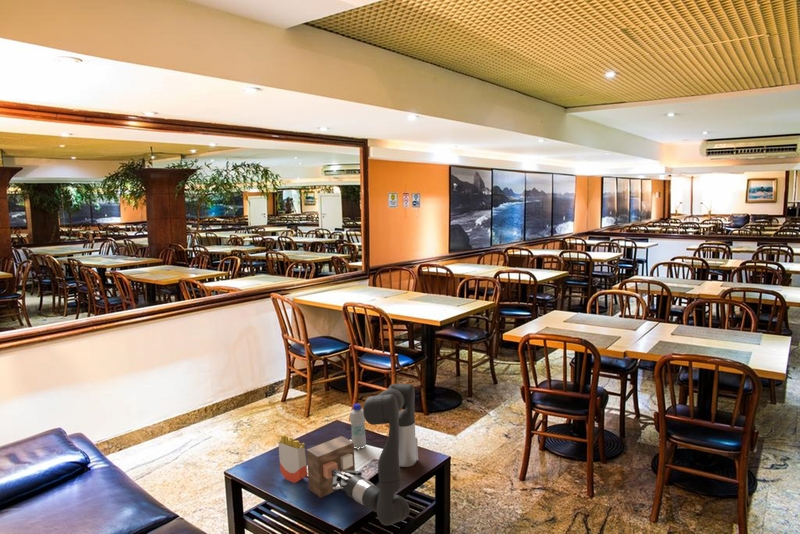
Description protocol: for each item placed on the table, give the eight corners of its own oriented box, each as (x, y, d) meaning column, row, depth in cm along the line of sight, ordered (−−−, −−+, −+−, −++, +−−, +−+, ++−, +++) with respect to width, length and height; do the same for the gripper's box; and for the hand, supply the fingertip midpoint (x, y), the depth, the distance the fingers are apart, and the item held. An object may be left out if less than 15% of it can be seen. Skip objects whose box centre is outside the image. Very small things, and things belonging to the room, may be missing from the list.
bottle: (369, 447, 233) (367, 403, 230) (357, 452, 228) (355, 408, 226) (360, 442, 238) (358, 399, 235) (348, 447, 233) (346, 404, 231)
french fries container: (289, 472, 214) (286, 430, 211) (308, 479, 207) (305, 436, 205) (280, 477, 210) (277, 434, 208) (299, 485, 204) (296, 441, 201)
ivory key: (346, 462, 205) (346, 451, 204) (353, 465, 202) (352, 454, 201) (337, 466, 202) (336, 455, 201) (343, 469, 199) (342, 458, 198)
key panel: (343, 474, 211) (341, 436, 209) (355, 481, 205) (353, 442, 203) (309, 489, 200) (306, 449, 198) (320, 497, 194) (317, 456, 192)
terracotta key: (331, 470, 198) (331, 459, 198) (337, 474, 195) (337, 463, 195) (321, 475, 195) (321, 464, 195) (327, 479, 192) (327, 467, 192)
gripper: (376, 473, 184) (347, 456, 197) (345, 487, 175) (317, 468, 188) (377, 493, 185) (348, 474, 198) (346, 508, 176) (318, 488, 189)
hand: (333, 472), depth 193 cm, fingers closed
